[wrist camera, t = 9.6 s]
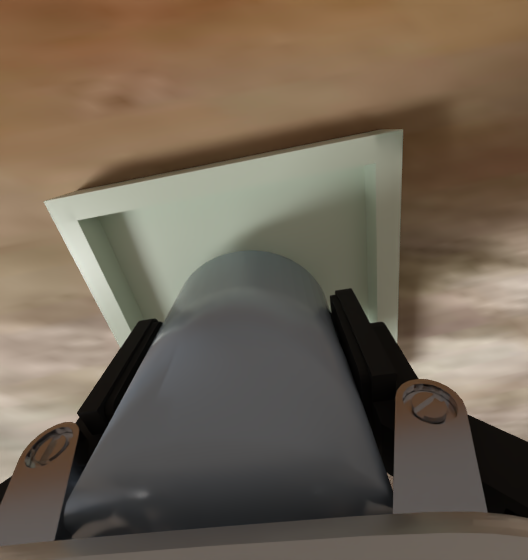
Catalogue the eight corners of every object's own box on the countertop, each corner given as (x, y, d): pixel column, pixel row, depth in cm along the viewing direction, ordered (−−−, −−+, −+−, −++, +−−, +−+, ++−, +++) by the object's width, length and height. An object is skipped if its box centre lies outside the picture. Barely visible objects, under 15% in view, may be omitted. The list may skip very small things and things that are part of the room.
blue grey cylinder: (321, 236, 10) (411, 416, 4) (334, 367, 13) (399, 599, 6) (153, 265, 10) (-13, 463, 4) (200, 384, 13) (140, 612, 7)
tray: (381, 129, 10) (402, 129, 9) (382, 372, 15) (395, 400, 14) (75, 191, 11) (43, 201, 10) (172, 399, 16) (162, 428, 15)
